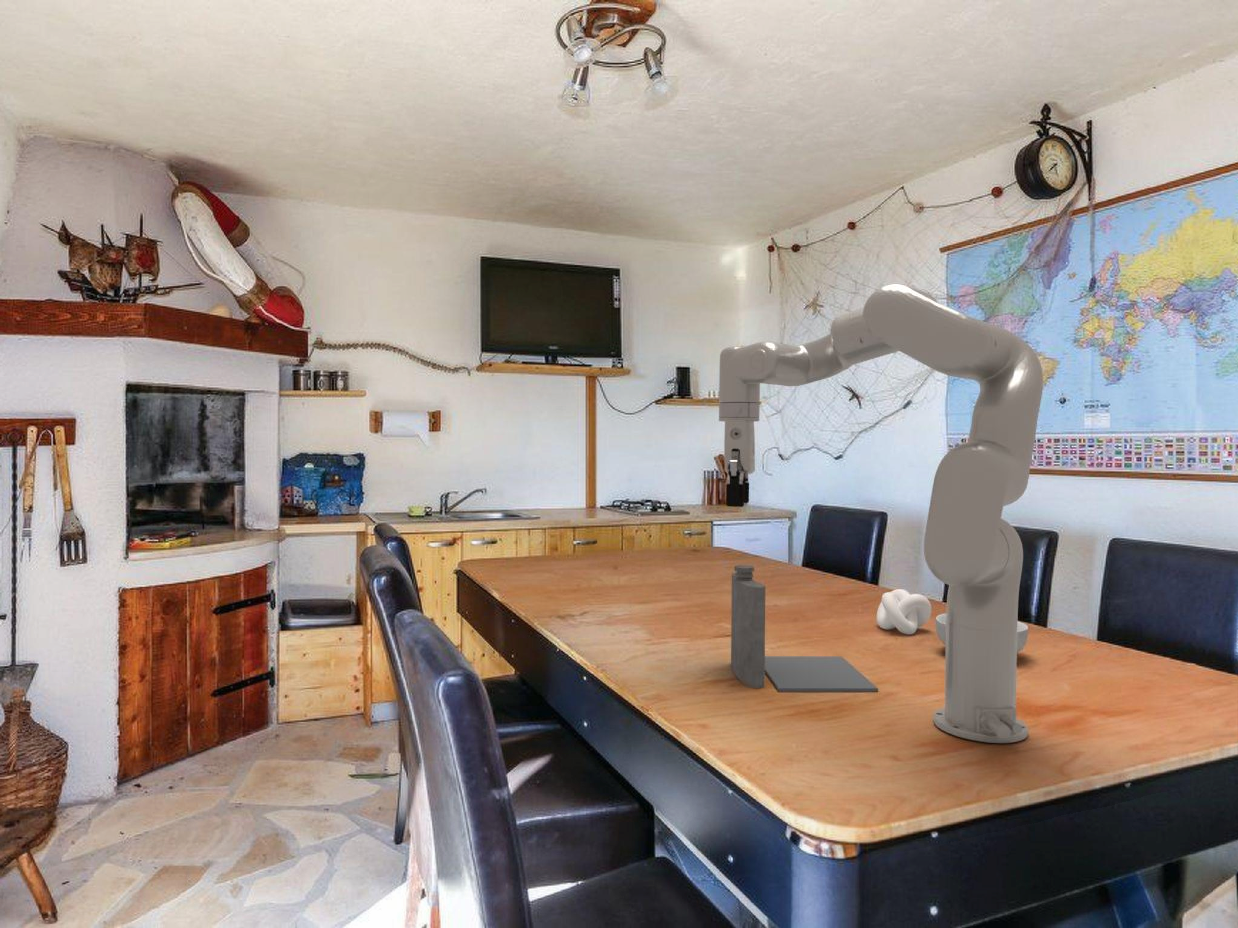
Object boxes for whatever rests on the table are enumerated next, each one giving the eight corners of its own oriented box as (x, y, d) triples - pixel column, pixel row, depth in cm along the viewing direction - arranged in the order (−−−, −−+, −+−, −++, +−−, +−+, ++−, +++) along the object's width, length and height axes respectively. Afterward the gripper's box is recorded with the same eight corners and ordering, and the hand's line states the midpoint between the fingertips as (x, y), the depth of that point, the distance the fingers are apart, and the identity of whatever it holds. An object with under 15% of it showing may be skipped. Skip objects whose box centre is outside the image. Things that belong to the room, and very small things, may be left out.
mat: (878, 691, 130) (878, 688, 130) (778, 691, 129) (778, 688, 129) (841, 659, 150) (841, 656, 150) (755, 659, 149) (755, 656, 149)
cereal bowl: (974, 670, 143) (975, 633, 143) (917, 648, 159) (917, 614, 159) (1048, 664, 147) (1048, 627, 147) (985, 643, 163) (985, 610, 163)
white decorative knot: (922, 625, 179) (923, 587, 179) (938, 638, 167) (939, 597, 167) (873, 624, 180) (873, 586, 180) (885, 636, 169) (886, 596, 168)
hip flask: (766, 688, 131) (767, 572, 131) (743, 688, 131) (744, 572, 131) (745, 662, 147) (746, 559, 147) (724, 662, 147) (725, 559, 147)
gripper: (755, 411, 133) (754, 508, 134) (762, 415, 150) (761, 502, 150) (712, 411, 135) (711, 507, 136) (724, 415, 152) (723, 500, 152)
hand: (737, 504), depth 143 cm, fingers open, 9 cm apart
